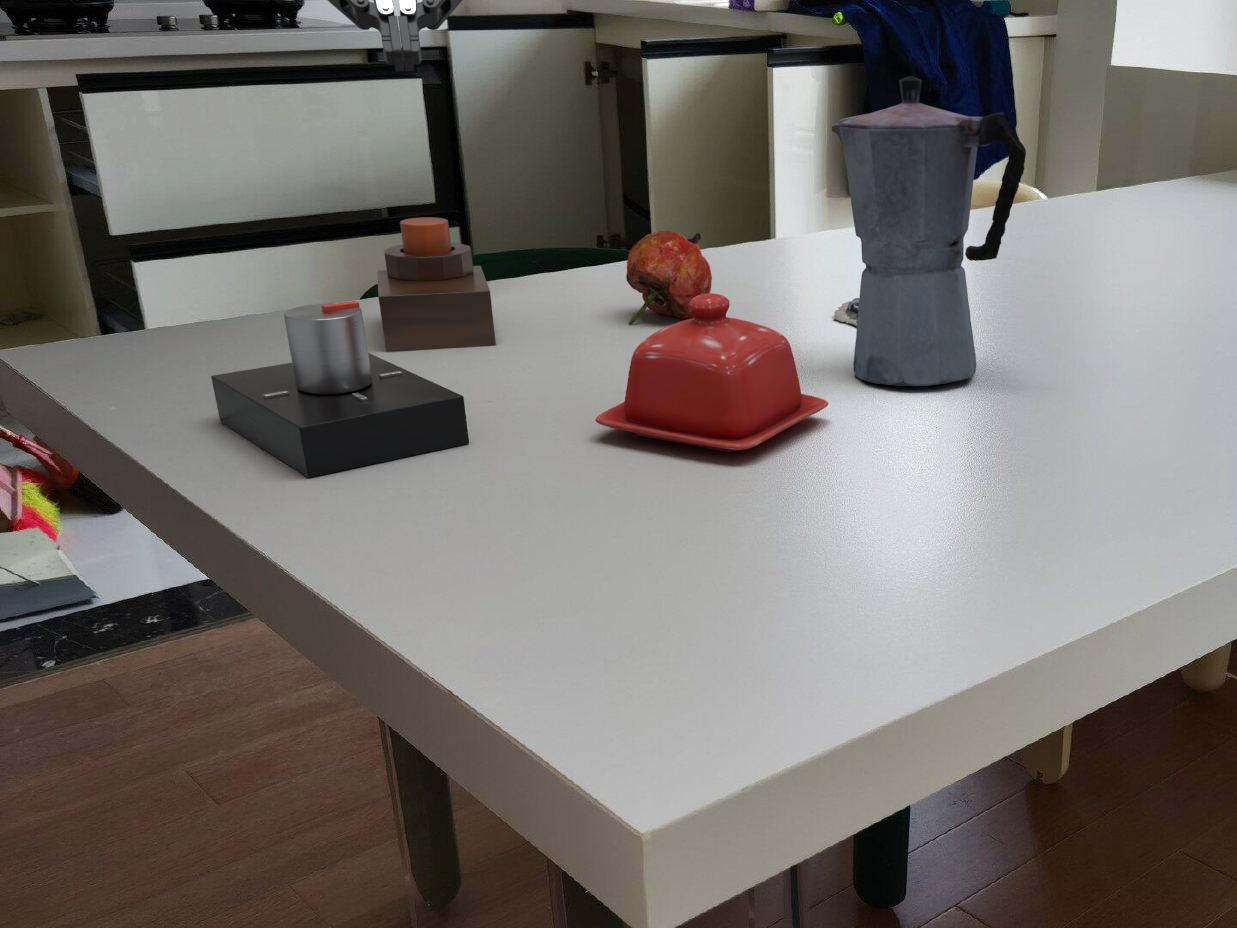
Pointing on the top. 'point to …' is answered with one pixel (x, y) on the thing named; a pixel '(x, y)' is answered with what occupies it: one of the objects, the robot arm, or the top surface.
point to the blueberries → (848, 312)
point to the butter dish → (712, 383)
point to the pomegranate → (668, 273)
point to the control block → (434, 301)
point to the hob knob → (328, 348)
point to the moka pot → (919, 234)
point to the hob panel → (341, 417)
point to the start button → (425, 236)
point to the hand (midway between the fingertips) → (404, 63)
